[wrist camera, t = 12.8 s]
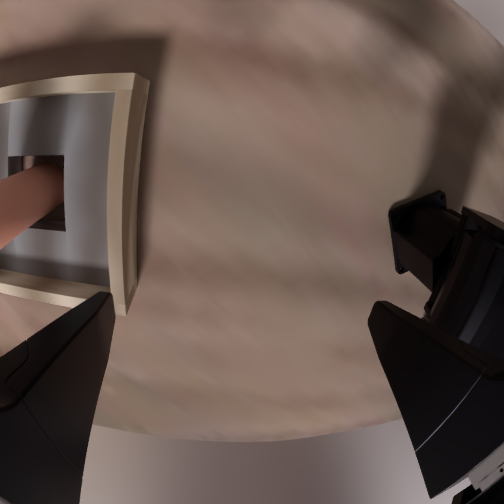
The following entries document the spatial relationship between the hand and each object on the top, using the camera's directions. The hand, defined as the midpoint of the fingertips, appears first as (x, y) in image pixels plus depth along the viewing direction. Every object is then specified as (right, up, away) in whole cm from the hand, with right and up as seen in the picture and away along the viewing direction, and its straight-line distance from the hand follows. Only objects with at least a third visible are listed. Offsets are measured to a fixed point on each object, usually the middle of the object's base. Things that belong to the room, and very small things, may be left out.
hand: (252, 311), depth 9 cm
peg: (-16, +7, +9) cm, 20 cm away
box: (-16, +7, +9) cm, 20 cm away
